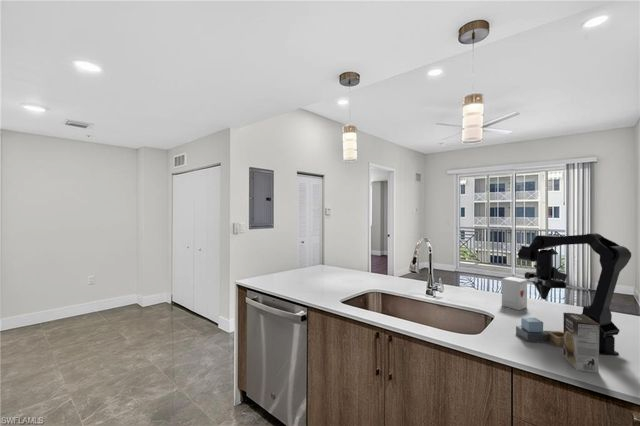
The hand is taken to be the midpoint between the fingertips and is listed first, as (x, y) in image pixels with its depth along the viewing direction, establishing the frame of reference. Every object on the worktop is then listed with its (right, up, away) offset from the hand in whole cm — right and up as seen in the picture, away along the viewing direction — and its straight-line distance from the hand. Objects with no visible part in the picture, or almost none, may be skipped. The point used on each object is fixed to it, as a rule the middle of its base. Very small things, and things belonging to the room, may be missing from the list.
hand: (543, 299), depth 132 cm
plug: (-12, -13, -9) cm, 20 cm away
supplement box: (+6, -13, +30) cm, 33 cm away
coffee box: (-10, -14, -30) cm, 35 cm away
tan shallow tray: (-4, -13, -14) cm, 19 cm away
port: (-12, -13, -9) cm, 20 cm away
